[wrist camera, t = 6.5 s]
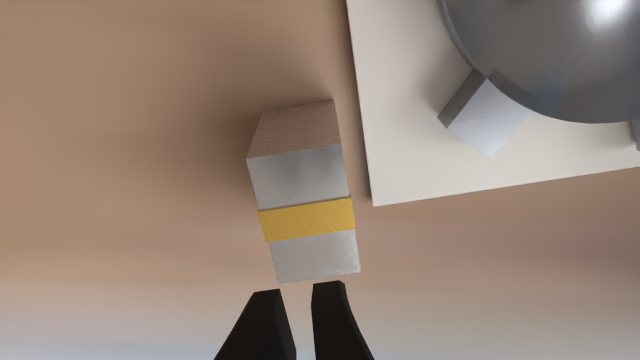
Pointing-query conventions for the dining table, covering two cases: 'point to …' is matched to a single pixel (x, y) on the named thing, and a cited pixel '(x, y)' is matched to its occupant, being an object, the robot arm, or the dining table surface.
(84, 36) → the dining table surface
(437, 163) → the base plate
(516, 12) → the sprocket
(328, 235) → the yellow banded block
